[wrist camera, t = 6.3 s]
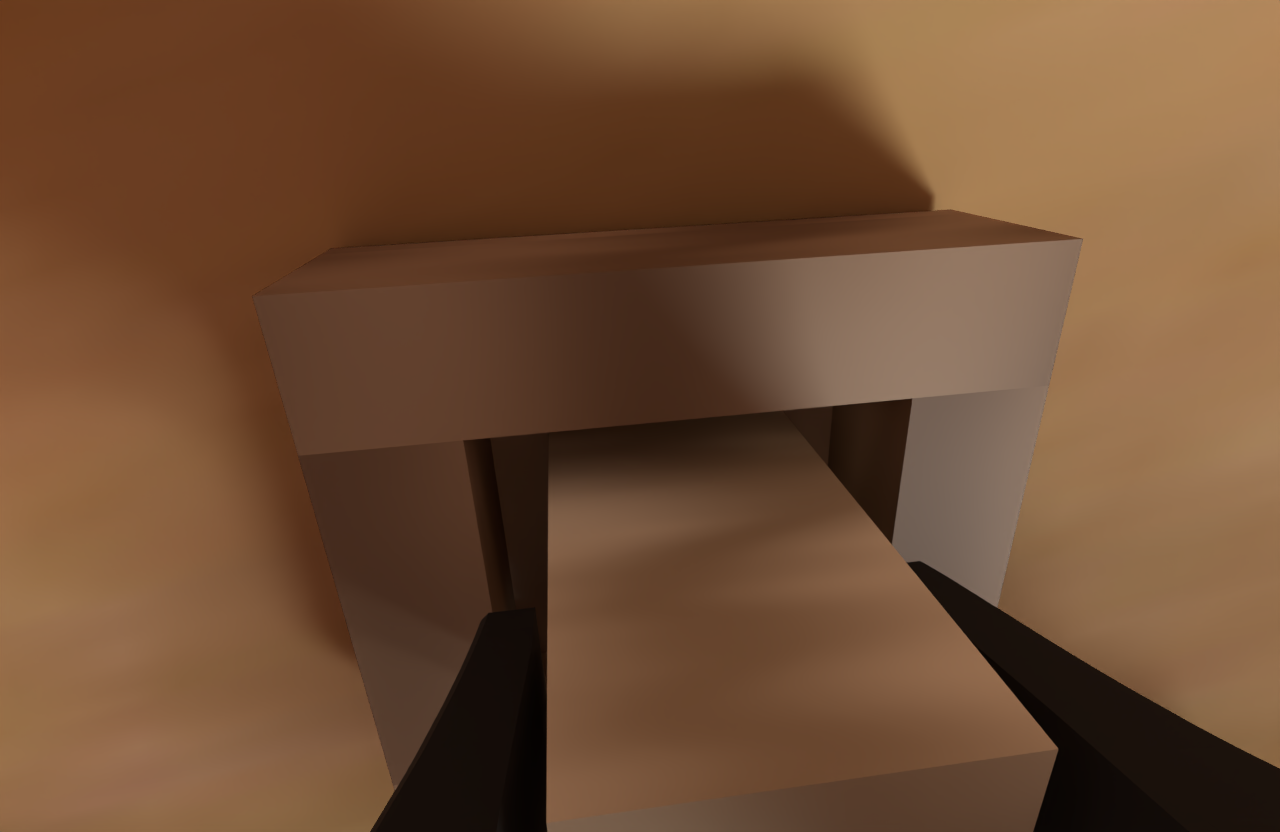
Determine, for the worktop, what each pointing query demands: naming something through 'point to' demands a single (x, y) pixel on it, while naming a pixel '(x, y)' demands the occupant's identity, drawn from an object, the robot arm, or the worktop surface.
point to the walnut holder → (647, 398)
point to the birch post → (757, 651)
